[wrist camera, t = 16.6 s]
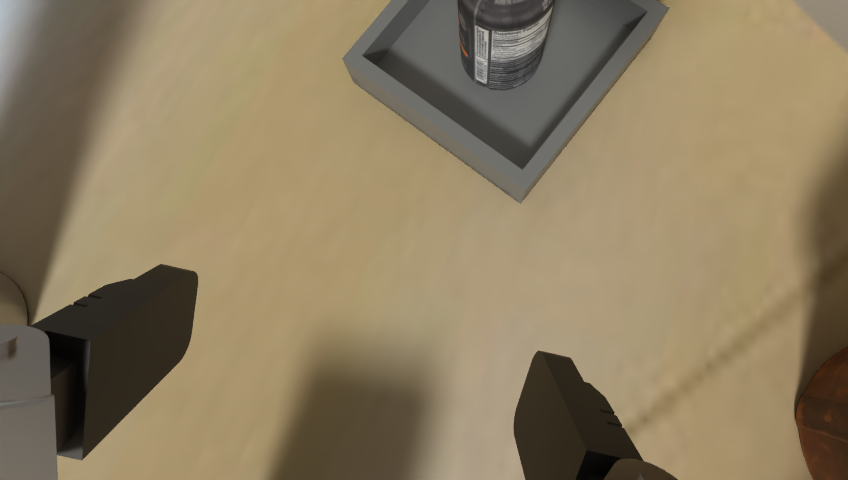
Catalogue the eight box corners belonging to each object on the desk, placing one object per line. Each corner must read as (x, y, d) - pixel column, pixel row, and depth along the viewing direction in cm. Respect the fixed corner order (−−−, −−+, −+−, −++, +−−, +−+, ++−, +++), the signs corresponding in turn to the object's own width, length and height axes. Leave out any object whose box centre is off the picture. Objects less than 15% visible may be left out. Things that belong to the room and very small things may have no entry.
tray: (353, 82, 39) (342, 58, 35) (479, -68, 40) (480, -106, 36) (520, 203, 36) (525, 190, 32) (651, 37, 37) (669, 8, 33)
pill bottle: (471, 13, 38) (470, -119, 26) (549, 27, 37) (582, -103, 26) (451, 84, 37) (441, -21, 26) (531, 100, 36) (556, -1, 25)
